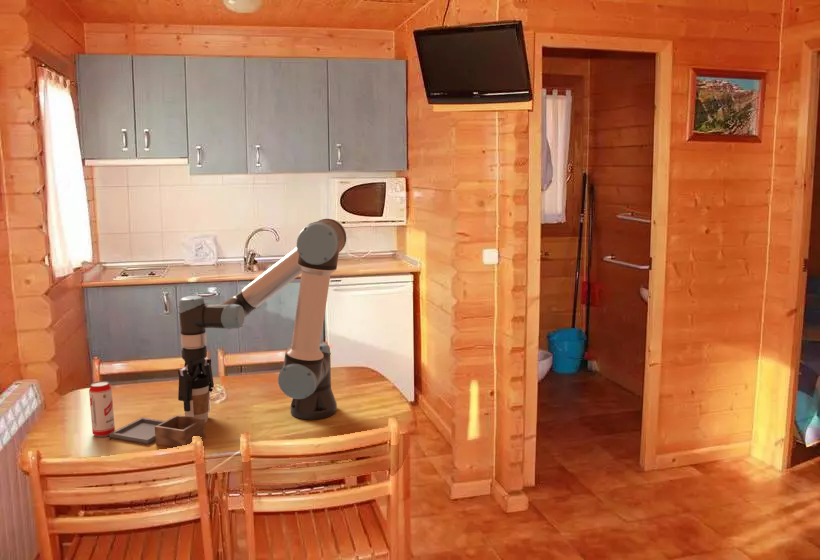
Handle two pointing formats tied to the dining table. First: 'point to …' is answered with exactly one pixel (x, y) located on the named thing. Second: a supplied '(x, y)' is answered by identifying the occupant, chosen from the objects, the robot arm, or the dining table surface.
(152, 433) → the slate tray
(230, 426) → the dining table surface
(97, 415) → the beer can
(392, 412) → the dining table surface
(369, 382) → the dining table surface
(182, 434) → the walnut crate
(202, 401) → the coffee cup
